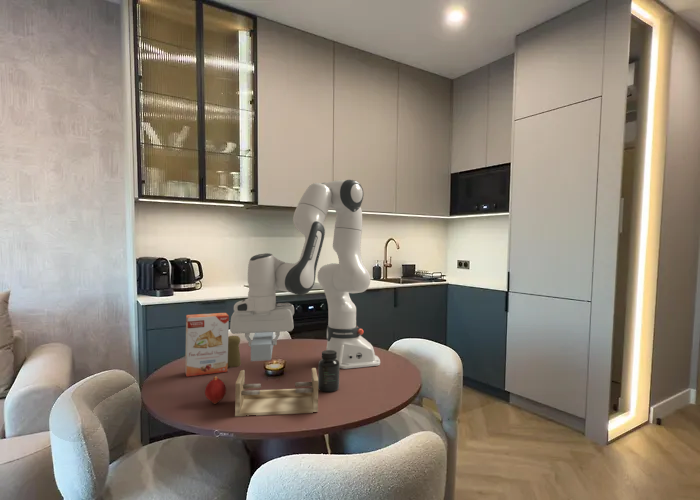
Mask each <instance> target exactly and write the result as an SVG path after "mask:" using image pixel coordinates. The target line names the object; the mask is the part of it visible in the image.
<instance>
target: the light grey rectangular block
mask: <svg viewBox="0 0 700 500" xmlns="http://www.w3.org/2000/svg"><path fill="white" fill-rule="evenodd" d="M272 339H274V332H263V333H253V337H252V339H251V340H252V343H251V346H250V362H260V361H261V362H262V361H271V360H272V355H273V348H274V345H272Z"/></svg>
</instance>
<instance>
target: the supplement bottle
mask: <svg viewBox="0 0 700 500" xmlns="http://www.w3.org/2000/svg"><path fill="white" fill-rule="evenodd" d="M336 358H337V352H336V351H333V350H323V351H322V352H321V359H320V360H319V361H318V371H317V372H318V374H317V376H318V391H321V392H324V393H334V392H337V391H338V390H339V388H340V368H339V367H340V364H339V361H338V360H337V359H336ZM336 390H337V391H336ZM333 391H334V392H333Z"/></svg>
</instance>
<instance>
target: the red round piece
mask: <svg viewBox="0 0 700 500" xmlns="http://www.w3.org/2000/svg"><path fill="white" fill-rule="evenodd" d="M226 392H227V388H226V384H225V383H224V381H223V380H222V379H220V378H218V376H213V379H212V380H210V381H209V382H208V383H207V385H206V386H205V389H204V394H205V398H206V399H207V400H209V401H210V402H212V404H214V405H215V404H216V405H217V404H218V403H219V402H220V401H222V400H223V399H224V397H225V396H226V394H227V393H226Z"/></svg>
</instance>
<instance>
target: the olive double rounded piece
mask: <svg viewBox="0 0 700 500" xmlns="http://www.w3.org/2000/svg"><path fill="white" fill-rule="evenodd" d="M240 344H241V338H240V336H238V335H228V368H237V367H240V366H241V365H242V361H241V354H240Z"/></svg>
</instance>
